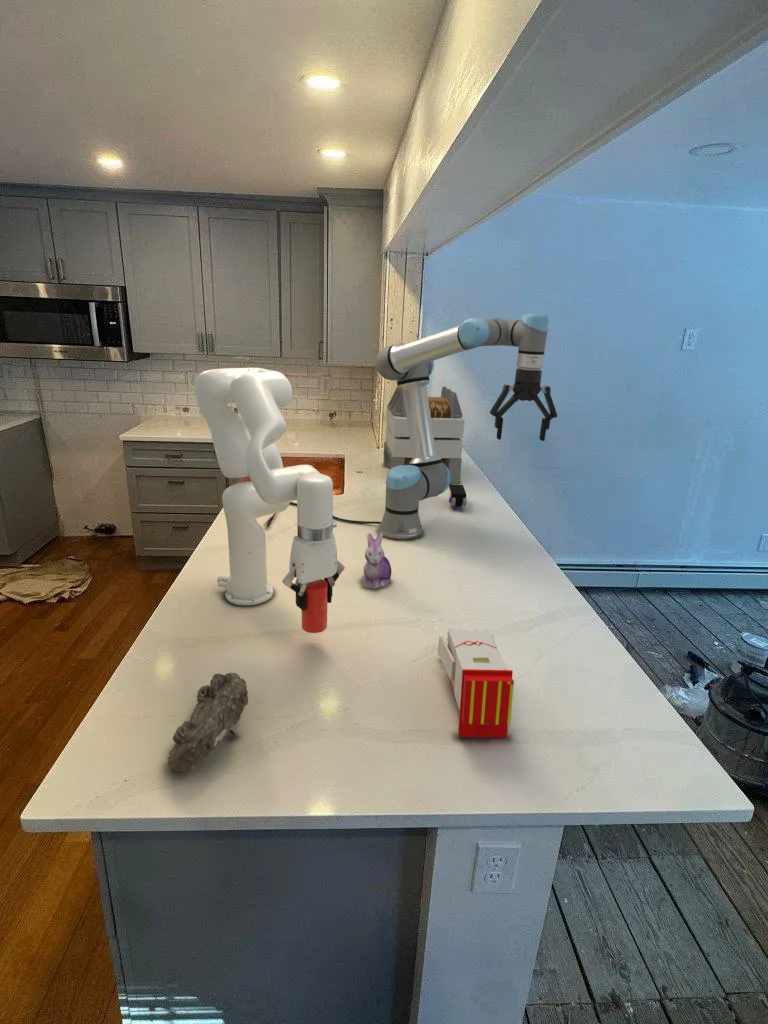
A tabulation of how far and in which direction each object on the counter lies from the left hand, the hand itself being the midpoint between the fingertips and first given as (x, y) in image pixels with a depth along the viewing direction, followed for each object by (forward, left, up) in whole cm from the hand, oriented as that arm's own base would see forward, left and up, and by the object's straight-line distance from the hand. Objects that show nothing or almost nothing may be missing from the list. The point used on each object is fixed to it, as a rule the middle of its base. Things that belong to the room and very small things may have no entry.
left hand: (314, 603), depth 129 cm
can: (0, 0, -6) cm, 6 cm away
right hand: (+47, +66, +27) cm, 86 cm away
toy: (+36, -10, -11) cm, 39 cm away
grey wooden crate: (+10, +154, -11) cm, 155 cm away
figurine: (+9, +35, -11) cm, 38 cm away
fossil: (-10, -32, -11) cm, 35 cm away
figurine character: (+29, +110, -11) cm, 114 cm away
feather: (-37, +79, -11) cm, 88 cm away
